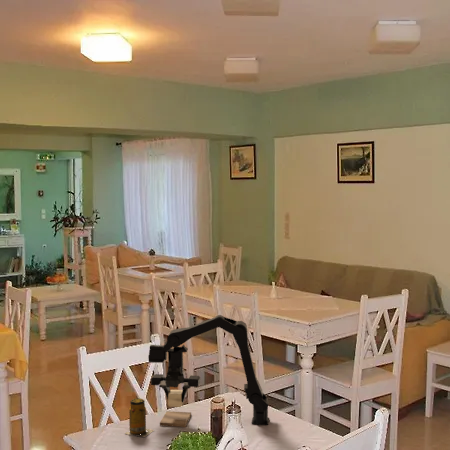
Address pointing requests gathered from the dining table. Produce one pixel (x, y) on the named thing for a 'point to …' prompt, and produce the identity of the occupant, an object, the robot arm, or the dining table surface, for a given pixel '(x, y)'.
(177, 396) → the maple cube
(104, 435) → the dining table surface
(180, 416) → the serving board
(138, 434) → the condiment
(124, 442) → the dining table surface
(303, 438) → the dining table surface
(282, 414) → the dining table surface
